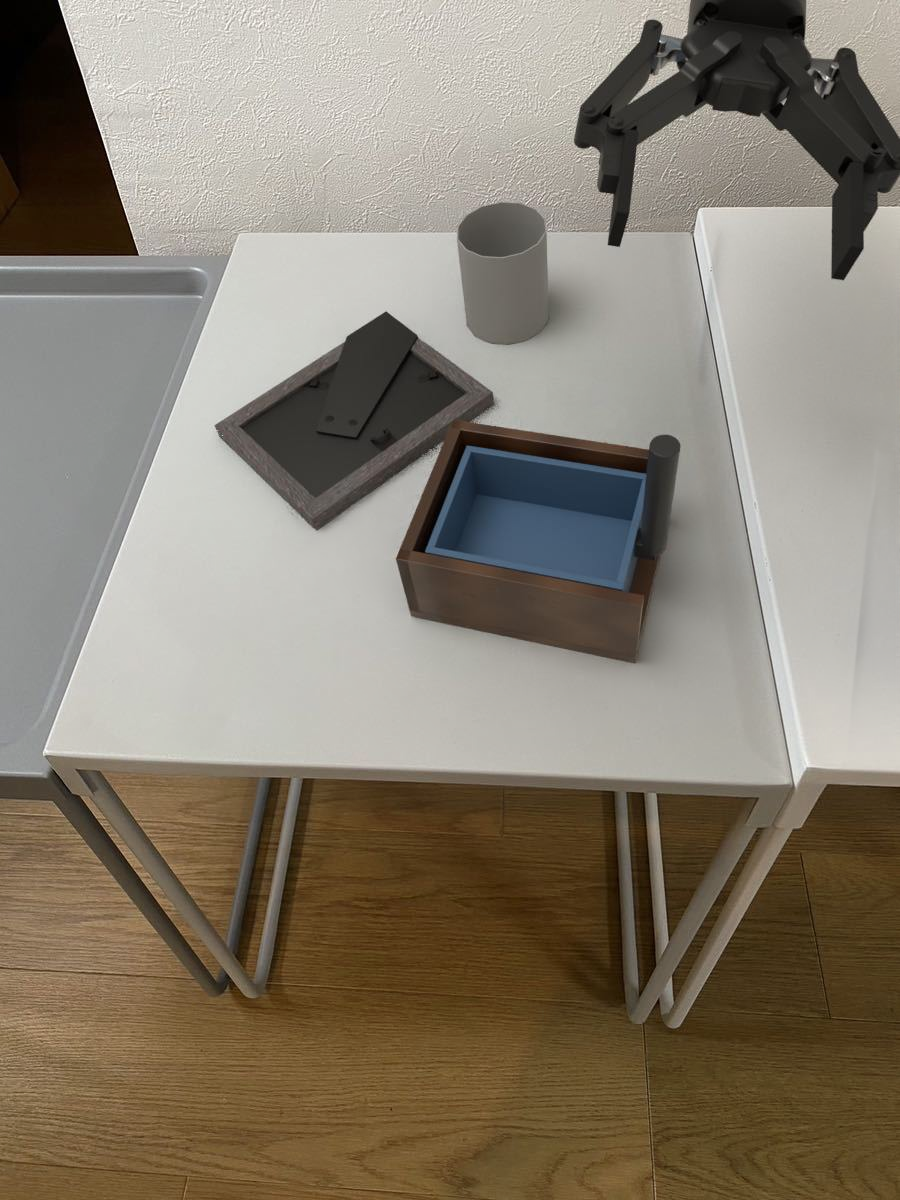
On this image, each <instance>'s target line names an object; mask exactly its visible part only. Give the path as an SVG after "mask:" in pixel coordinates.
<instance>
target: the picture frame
mask: <svg viewBox="0 0 900 1200" xmlns="http://www.w3.org/2000/svg"><path fill="white" fill-rule="evenodd" d="M493 405H495V400H494V391H492V390H491V389H489V388H488V387H487V386H485V385H484V384H482V383H481V382H480V381H479V380H477V379H476V378H474V377H473V376H471V374H469V373H468V372H467V371H465V370H463V369H462V368H460V366H458V365H457V364H455V362H453V361H452V360H450V359H448V358H447V357H446V356H444V355H443V354H441V353H440V351H438V350H436V348H433V347H432V346H431V345H429V344H428V343H427V342H425V341H424V340H422V339H421V338H420V337H419V335H418V334H416V333H415V332H414V331H412V329H410V328H409V327H407V325H405V324H403V323H402V322H401V321H400V320H399V319H397V318H396V317H394V316H393V315H392V314H391V313H389V312H388V311H387V310H386V311H384V312H382V313H381V314H379V315H378V316H376V317H375V318H373V319H371V320H370V321H368V322H367V323H366V324H364V325H362V326H361V327H359V328H358V329H356V330H354V331H353V332H351V333H349V334H348V335H347V336H346V337H345V340H344V341H343V342H342V343H340V344H338V345H337V346H336V347H334V348H333V349H331V350H329V351H328V352H326V353H325V354H323V355H322V356H320V357H318V358H317V359H315V360H314V361H312V362H310V363H309V364H308V365H306V366H304V367H303V368H301V369H299V370H298V371H297V372H295V373H294V374H292V375H290V376H289V377H287V378H286V379H284V380H282V381H281V382H280V383H278V384H276V385H275V386H273V387H272V388H270V389H268V390H267V391H266V392H264V393H262V394H261V395H259V396H258V397H256V398H255V399H253V400H251V401H250V402H248V403H246V404H245V405H243V406H242V407H240V408H239V409H238V410H235V411H234V412H233V413H231V414H230V415H228V416H227V417H225V418H224V419H222V420H220V421H219V422H217V423H215V424H214V425H213V426H214V428H215V430H216V433H217V434H218V437H219V438H220V439H221V440H222V441H223V442H224V443H225V444H226V445H227V446H228V447H229V448H230V449H232V451H233V452H234V453H236V454H237V456H239V457H240V459H242V460H243V461H244V463H246V464H247V465H248V466H249V467H250V468H251V469H252V470H253V471H254V472H255V473H256V474H257V475H258V476H259V477H260V478H261V479H262V480H263V481H264V482H266V484H267V485H268V486H269V487H271V488H272V490H273V491H275V493H277V494H278V495H279V496H280V498H282V499H283V500H284V501H285V502H286V503H287V504H288V505H289V506H290V507H291V508H292V509H293V510H294V511H295V512H296V513H297V514H298V515H299V516H300V517H301V518H302V519H304V520H305V521H306V522H307V524H308V525H310V526H311V528H313V529H314V530H315V531H318V530H319V529H320V528H322V527H323V526H324V525H327V523H329V522H330V521H332V520H333V519H335V518H336V517H337V516H339V515H341V513H343V512H344V511H346V510H347V509H349V508H350V507H352V506H353V505H354V504H355V503H357V502H359V501H360V500H361V499H362V498H364V497H366V496H367V495H369V493H371V492H372V491H374V490H375V489H377V488H378V487H380V486H381V485H382V484H384V483H385V482H386V481H388V480H389V479H391V478H392V477H394V476H396V474H398V473H399V472H401V471H402V470H404V469H405V468H406V467H408V466H409V465H411V464H413V462H415V461H416V460H418V459H419V458H420V457H422V456H423V455H424V454H426V453H427V452H429V451H430V450H431V449H434V447H436V446H437V445H438V444H440V443H441V442H444V440H445V438H446V435H447V433H448V430H449V428H450V426H451V423H452V421H453V420H459V421H464V422H471V421H473V420H474V419H475V418H477V417H478V416H479V415H481V414H483V413H484V412H485V411H487V410H488V409H489V408H491V407H492V406H493ZM217 430H218V431H217ZM222 435H223V436H222Z"/></svg>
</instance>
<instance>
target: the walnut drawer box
mask: <svg viewBox="0 0 900 1200" xmlns="http://www.w3.org/2000/svg"><path fill="white" fill-rule="evenodd" d="M467 445H468V446H474V447H480V448H486V449H493V450H499V451H505V452H512V453H518V454H524V455H531V456H537V457H543V458H550V459H556V460H562V461H568V462H575V463H581V464H587V465H594V466H600V467H606V468H613V469H619V470H625V471H632V472H638V473H644V474H646V473H647V463H648V454H649V448H642V447H635V446H628V445H623V444H616V443H608V442H602V441H595V440H590V439H589V440H588V439H582V438H576V437H570V436H562V435H557V434H549V433H542V432H536V431H531V430H523V429H516V428H509V427H504V426H496V425H490V424H484V423H483V424H482V423H477V422H471V421H470V422H464V421H459V420H453V421H452V423H451V426H450V428H449V430H448V433H447V435H446V438H445V439H444V440H443V443H442V446H441V448H440V450H439V452H438V455H437V457H436V460H435V462H434V465H433V467H432V470H431V472H430V475H429V477H428V478H427V479H428V480H427V482H426V484H425V487H424V489H423V492H422V493H421V496H420V499H419V501H418V504H417V506H416V508H415V511H414V513H413V516H412V518H411V521H410V523H409V526H408V528H407V529H406V532H405V535H404V538H403V540H402V543H401V544H400V547H399V549H398V552H397V555H396V557H395V561H396V562H395V563H396V565H397V569H398V573H399V576H400V580H401V584H402V587H403V591H404V595H405V599H406V603H407V606H408V611H409V614H410V616H411V617H413V618H416V619H417V618H418V619H423V620H426V621H432V622H436V623H441V624H446V625H450V626H454V627H455V626H456V627H459V628H466V629H471V630H475V631H480V632H484V633H489V634H494V635H499V636H503V637H508V638H513V639H518V640H522V641H526V642H531V643H537V644H541V645H546V646H551V647H554V648H555V647H556V648H561V649H566V650H569V651H575V652H579V653H585V654H589V655H593V656H599V657H603V658H608V659H613V660H618V661H623V662H627V663H631V664H636V661H637V657H638V652H639V647H640V644H641V639H642V634H643V630H644V626H645V621H646V618H647V613H648V610H649V609H648V608H649V605H650V601H651V600H650V599H651V596H652V591H653V587H654V583H655V578H656V574H657V569H658V565H659V562H660V557H661V554H659V555H656V560H655V561H654V560H648V559H643V558H638V559H637V563H636V567H635V571H634V575H633V579H632V583H631V587H630V591H629V592H624V591H619V590H614V589H609V588H603V587H598V586H593V585H588V584H583V583H577V582H572V581H567V580H562V579H556V578H551V577H546V576H541V575H535V574H530V573H525V572H520V571H515V570H509V569H504V568H499V567H494V566H488V565H483V564H478V563H473V562H467V561H462V560H457V559H452V558H447V557H441V556H436V555H431V554H426V553H425V550H426V547H427V545H428V543H429V540H430V538H431V535H432V532H433V530H434V527H435V525H436V522H437V520H438V517H439V515H440V512H441V510H442V507H443V504H444V502H445V499H446V497H447V494H448V492H449V489H450V487H451V484H452V482H453V479H454V476H455V474H456V471H457V469H458V466H459V464H460V461H461V459H462V456H463V454H464V451H465V448H466V446H467Z"/></svg>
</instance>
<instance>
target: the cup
mask: <svg viewBox="0 0 900 1200" xmlns="http://www.w3.org/2000/svg"><path fill="white" fill-rule="evenodd" d="M547 231H548V230H547V218H546V217H544V215H543V214H542V213H541V212H540V211H539V210H538V209H537V208H535V207H533V206H530V205H527V204H525V203H522V202H515V201H514V202H513V201H497V202H494V203H488V204H485V205H481V206H479V207H477V208H475V209H474V210H471V211H470V212H469V213H466V214H465V216H463V218H462V219H461V220H460V222H459V223H458V225H457V226H456V244H457V252H458V260H459V269H460V276H461V277H460V278H461V287H462V297H463V304H464V313H465V321H466V327H467V328H468V330H470V332H471V333H472V334H473V336H474V337H476V338H478V339H480V340H482V341H484V342H486V343H488V344H496V345H497V344H498V345H507V346H508V345H512V344H517V343H521V342H525V341H528V340H529V339H531V338H533V337H535V336H536V335H537V334H540V333H541V332H542V331H543V329H544V328H545V326H546V324H547V322H548V321H549V320H550V317H549V316H550V315H549V313H550V311H549V277H548V276H549V274H548V270H549V269H548V235H547V234H548V233H547Z"/></svg>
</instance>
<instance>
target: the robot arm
mask: <svg viewBox="0 0 900 1200" xmlns="http://www.w3.org/2000/svg"><path fill="white" fill-rule="evenodd" d="M806 26H807V0H690V2H689V7H688V19H687V29H686V35H685V36H684V37H683V38H680V37H675V36H671V35H667V34H662V32H663V28H664V27H663V24H662V22H661V21H659V20H657V19H648V20H646V21H645V22H644V24H643V27H642V31H641V34H640V38H639V42H637V44H636V45H635V46H634V47H633V48H632V49H631V50H630V51H629V52H628V53H627V55H625V56H624V57H623V59H622V60H621V61H619V63H618V64H617V65H616V67H615V68H614V69H613V70H612V71H611V72H610V73H609V74H608V75H607V76H606V77H605V78H604V80H603V81H602V82H601V83H600V84H599V85H598V86H597V87H596V89H595V90H593V92H592V93H591V94H590V95H589V96H588V97H587V98H586V99H585V101H584V102H582V104H581V105H580V107H579V111H578V117H577V122H576V126H575V130H574V131H575V132H574V136H573V144H574V146H576V148H579V149H583V150H584V149H586V150H587V149H589V148H590V147H592V148H593V149H596V150H597V151H598V152H599V157H598V166H599V167H598V175H597V182H596V186H597V190H598V192H599V193H603V194H609V195H613V197H612V205H611V215H610V222H609V229H608V237H607V246H610V247H611V246H612V247H616V248H621V244H622V241H623V237H624V233H625V230H626V226H627V223H628V220H629V216H630V211H631V203H632V202H631V201H632V194H633V185H634V175H635V167H636V166H635V165H636V157H637V148H638V146H639V145H640V144H641V143H643V142H645V141H646V140H648V139H649V138H651V137H652V136H653V135H655V134H656V133H658V132H660V131H661V130H662V129H664V128H666V127H667V126H668V125H670V124H672V123H674V121H676V120H677V119H679V118H681V117H682V116H683V117H685V118H688V117H689V116H691V115H693V114H694V113H695V112H697V111H698V110H700V109H702V108H703V107H705V106H706V105H708V106H711V107H712V111H716V112H717V111H718V112H723V113H725V112H738V113H741V114H743V115H746V116H751V117H758V118H759V117H761V115H762V116H764V117H765V118H766V119H767V121H768V122H770V124H771V125H772V126H773V127H774V128H775V129H776V130H777V131H779V132H782V131H787V132H788V133H789V134H790V135H791V137H793V139H794V140H796V142H797V143H799V145H800V146H801V147H802V148H803V149H804V150H805V151H806V152H807V153H808V154H809V155H810V156H811V157H812V158H813V160H814V161H815V162H816V163H817V164H818V165H819V166H820V167H821V168H822V169H823V170H824V171H825V172H826V173H827V174H828V175H829V176H830V177H831V178H832V179H833V180H834V181H835V183H836V184H837V186H836V189H835V190H834V192H833V194H832V196H831V256H830V257H831V262H830V263H831V264H830V265H831V266H830V269H831V270H830V271H831V273H830V279H831V280H837V281H845V279H846V278H847V277H848V274H849V273H850V272H851V270H852V268H853V267H854V265H855V263H856V262H857V260H858V259H859V257H860V255H861V254H862V252H863V251H864V249H865V246H864V245H865V238H864V237H865V235H864V234H865V231H866V229H867V228H868V227H869V225H870V223H871V221H872V219H873V218H874V217H875V215H876V213H877V211H878V209H879V202H878V201H879V197H878V196H879V195H878V193H881V194H887V193H888V194H889V193H890V192H891V190H892V189H893V187H894V186H895V185H896V182H897V181H898V180H899V177H900V136H899V135H898V133H897V132H896V130H895V129H894V127H893V125H892V124H891V122H890V121H889V119H888V117H887V116H886V114H885V113H884V111H883V109H882V108H881V106H880V104H879V103H878V101H877V100H876V98H875V97H874V95H873V94H872V92H871V90H870V89H869V87H868V86H867V84H866V83H865V81H864V80H863V78H862V76H861V75H860V73H859V72H860V71H859V65H858V59H857V53H856V52H855V51H854V50H853V49H852V48H849V47H840V48H839V49H838V50H837V51H836V54H835V55H834V57H833V58H819V57H812V54H811V52H810V51H809V49H808V47H807V46H806V44H805V41H806V40H805V39H806V30H807V29H806V28H807V27H806ZM673 62H674V63H676V67H677V69H678V71H677V72H675V73H674V74H673V75H671V76H670V77H668V78H667V79H664V81H662V82H661V83H659V84H658V85H655V86H654V87H653V88H651V89H649V90H648V91H647V92H645V93H644V94H642V95H641V96H639V97H638V98H636V96H637V95H638V94H639V93H640V92H641V90H643V88H644V87H645V86H646V85H647V84H648V81H649V79H650V77H651V76H654V77H655V76H658V75H659V73H660V70H662V69H663V68H665V67H666V66H667V64H669V63H673ZM634 98H636V99H634ZM782 102H784V104H783V103H782Z"/></svg>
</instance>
